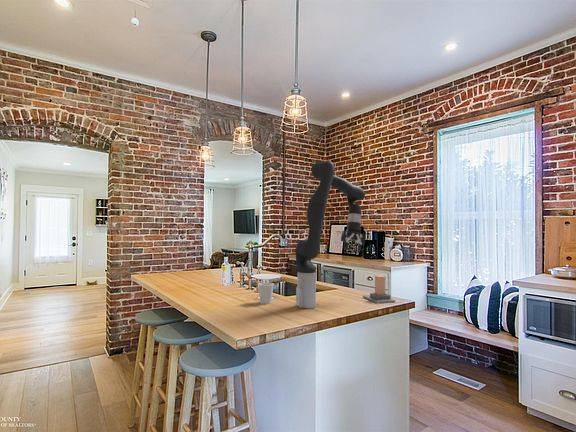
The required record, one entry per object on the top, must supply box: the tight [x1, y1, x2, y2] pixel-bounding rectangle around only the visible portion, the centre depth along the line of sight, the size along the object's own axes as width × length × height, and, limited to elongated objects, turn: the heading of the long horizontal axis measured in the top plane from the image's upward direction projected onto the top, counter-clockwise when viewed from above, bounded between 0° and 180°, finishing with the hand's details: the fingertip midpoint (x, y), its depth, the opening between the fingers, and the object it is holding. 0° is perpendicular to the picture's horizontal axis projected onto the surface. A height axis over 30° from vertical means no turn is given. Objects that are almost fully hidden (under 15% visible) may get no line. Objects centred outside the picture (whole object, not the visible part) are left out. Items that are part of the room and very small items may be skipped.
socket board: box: [362, 292, 396, 304], centre depth 184 cm, size 11×15×3 cm
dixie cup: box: [257, 281, 275, 305], centre depth 175 cm, size 8×8×10 cm
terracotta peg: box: [374, 275, 386, 296], centre depth 185 cm, size 4×4×12 cm
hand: (352, 250), depth 188 cm, fingers open, 8 cm apart
